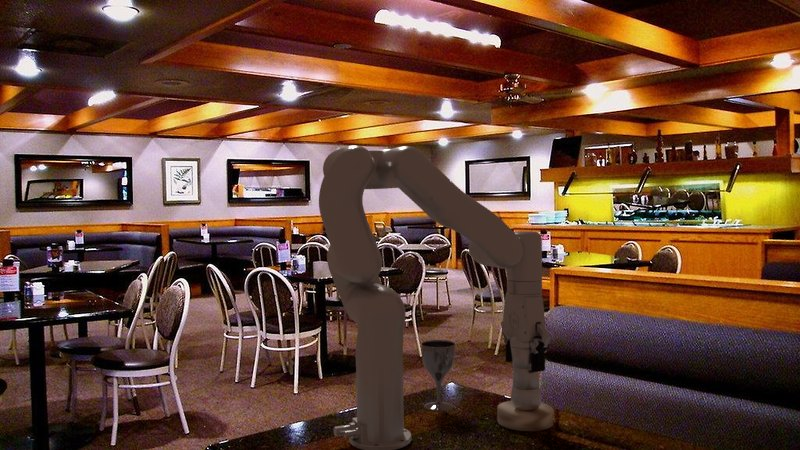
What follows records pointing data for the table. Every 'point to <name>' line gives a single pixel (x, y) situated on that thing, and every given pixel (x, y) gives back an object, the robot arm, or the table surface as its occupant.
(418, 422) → the table surface
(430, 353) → the wine glass
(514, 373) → the plastic bottle
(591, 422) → the table surface
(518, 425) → the pedestal
